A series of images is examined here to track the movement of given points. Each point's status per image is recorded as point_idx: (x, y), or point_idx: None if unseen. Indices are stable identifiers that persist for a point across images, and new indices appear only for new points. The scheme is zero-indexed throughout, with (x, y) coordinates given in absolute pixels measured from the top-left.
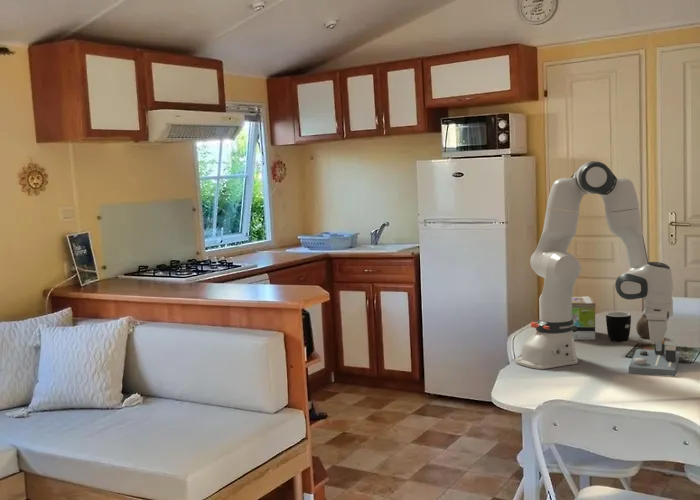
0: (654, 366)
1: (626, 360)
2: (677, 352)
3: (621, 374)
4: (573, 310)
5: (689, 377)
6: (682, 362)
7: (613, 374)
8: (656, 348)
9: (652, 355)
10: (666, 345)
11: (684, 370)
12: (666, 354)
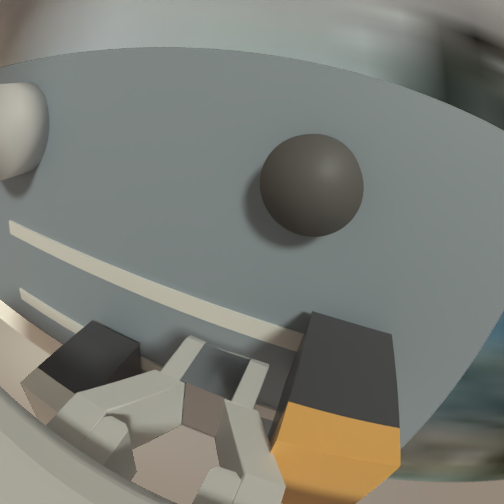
0: (4, 216)
1: (308, 6)
2: None
3: (3, 43)
4: None
5: (31, 331)
6: None
7: (7, 11)
8: (179, 352)
9: (276, 273)
10: None
11: None
12: (63, 351)
